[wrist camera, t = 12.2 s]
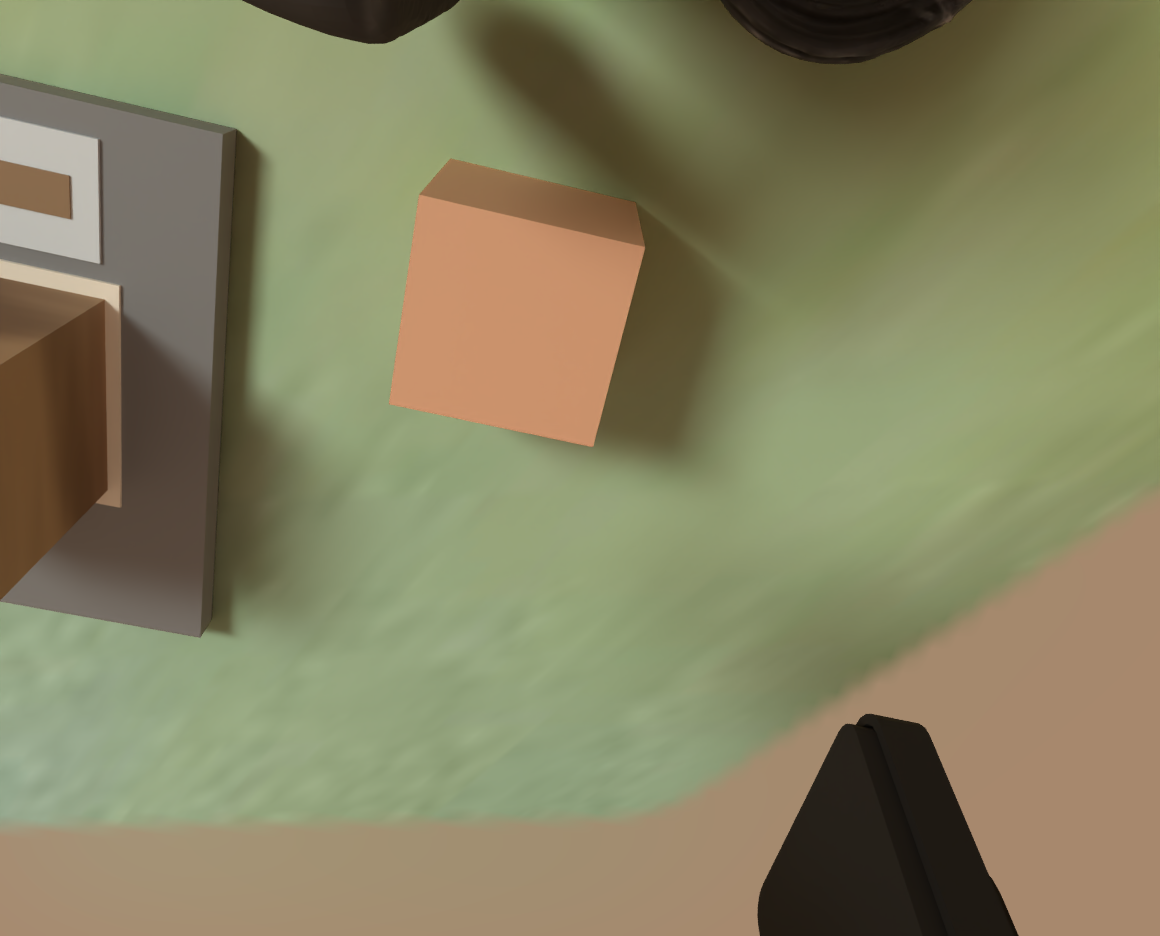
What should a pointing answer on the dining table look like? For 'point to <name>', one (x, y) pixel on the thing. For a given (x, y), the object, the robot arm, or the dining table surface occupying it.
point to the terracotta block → (515, 301)
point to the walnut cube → (48, 419)
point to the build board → (130, 335)
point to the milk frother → (759, 3)
